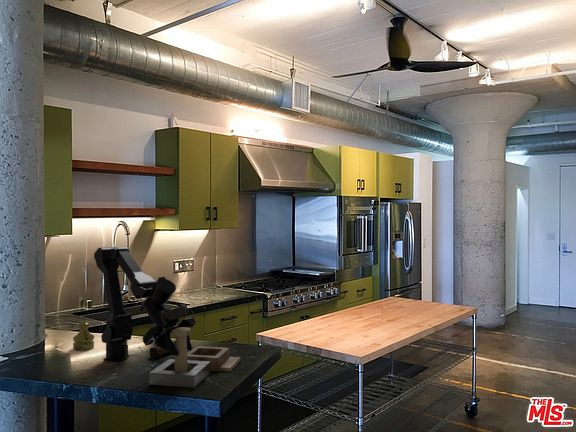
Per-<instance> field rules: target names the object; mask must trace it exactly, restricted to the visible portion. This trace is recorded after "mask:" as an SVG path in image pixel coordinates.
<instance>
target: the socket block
mask: <svg viewBox="0 0 576 432" xmlns="http://www.w3.org/2000/svg"><path fill="white" fill-rule="evenodd" d="M210 373H211V370H210V361H193V360H188V364H187V372H180V371H175V358H174V359H173V358H168V359H167V360H165V361H164V362H163V363H161V364H160V365H158V366H157V367H156V368H154V369H153V370H151V371H149V385H153V386H164V387H165V386H167V387H181V388H193V389H194V388H196V387H197V386H198V385H199V384H200V383H201V382H202V381H203V380H204V379H205V378H206V377H207V376H208V375H210Z"/></svg>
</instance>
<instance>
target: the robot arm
mask: <svg viewBox="0 0 576 432" xmlns="http://www.w3.org/2000/svg"><path fill="white" fill-rule="evenodd" d="M93 259H94V260H95V264H96V268H97V269H99V271H100V272H101V273H102V276H103V281H104V282H103V283H104V287H105V288H104V289H105V293H106V301H107V307H108V314H109V315H108V316H107V319H106V322H105V329H104V330H103V332H102V334H101V336H100V337H101V342H102V343H104V344H105V357H104V358H103V361H107V362H108V361H109V362H122V361H123V360H126V359H127V358H128V357H130V354H129V345H128V341H131V339H132V336H133V331H134V323H133V320H132V319H133V318H132V314H130V313H127V312H126V310H125V307H124V302H123V301H124V300H123V295H122V289H121V283H120V277H119V271H118V270H119V267H120V268H121V269H122V271H123V273H124V274H125V276H126V277H127V279H128V280H129V282H130V285H129V289H130V291H131V293H132V295H133V297H134V298H135V299H136V300H140V299H141V300H143V299H144V301H142V302H140V306H139V311H140V312H143V311H145V312H146V314H147V315H148V316H149V319H150V322H149V323H150V325H151V326H152V327H150V328H149V329H148V330H146V333H145V334H144V335H142V342H143V344H144V346H146V347H148V346H150V345H153V346H154V347H160V348H163V349H165V350H166V351H168V352H169V353H170V354H172V355H173V356H174V357H175V356H178V355H179V352H178V350H177V348H176V347H175V345H174V343H173V340H172V338H171V334H172V330H173V329H176V328H180V327H188V328H191V329H192V328H193V327H194V326H195V325H196V324H197V322H196V320H195V318H194V317H190V316H189V317H187V316H188V313H189V312H190V310H189V307H188V306H187V304H186V303H181V304H180V305H177V307H173V308H167V306H166V304H167V303H168V302H169V300H170V299H171V297H172V296H173V295H174V294H175V292H176V290H177V287H176V284H175V283H174V282H173V281H172V280H169V279H166V277H165V276H159V277H158V279H157V281H156V280H155V279H153V277H152V276H150V275H149V274H146V273H144V272H143V270H142V269H141V267H140V266H139V264H138V263H137V261H136V260H135V259H134V257H133V256H132V254H131V253H130V249H129V248H128V247H125V246H119V247H118V246H117V247H116V246H109V247H106V246H104V247H98V248H97V249H96V251H94V253H93ZM183 317H186V318H183ZM181 318H182V319H181ZM180 319H181V320H180ZM177 323H178V324H177ZM153 325H154V326H153ZM192 349H193V347H192V343H191V339H190V334H189V335H188V336H187V351H188V352H189V351H191V350H192Z"/></svg>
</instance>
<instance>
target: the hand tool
mask: <svg viewBox="0 0 576 432" xmlns="http://www.w3.org/2000/svg"><path fill="white" fill-rule="evenodd" d="M172 342H173V343H174V345H176V339H175V340H172ZM169 353H170V352H168V351H166V350H165V349H163V348H160V347H158V346H154V347H150V349H149V357H150V358H151V359H158V358H161V356H163V355H167V354H169Z"/></svg>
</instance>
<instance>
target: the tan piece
mask: <svg viewBox="0 0 576 432" xmlns="http://www.w3.org/2000/svg"><path fill="white" fill-rule="evenodd" d="M187 357H188V360H193V361H210V371H214V372H215V371H216V372H232V370H233V369H234V368H236V366H238V364H239V363H241V361H242V359H241V358H242V357H239V356H230V347H217V346H216V347H215V346H201V345H200V346H199V345H196V346H195V347H192V350H191V351H189V350H188V351H187Z"/></svg>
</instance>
